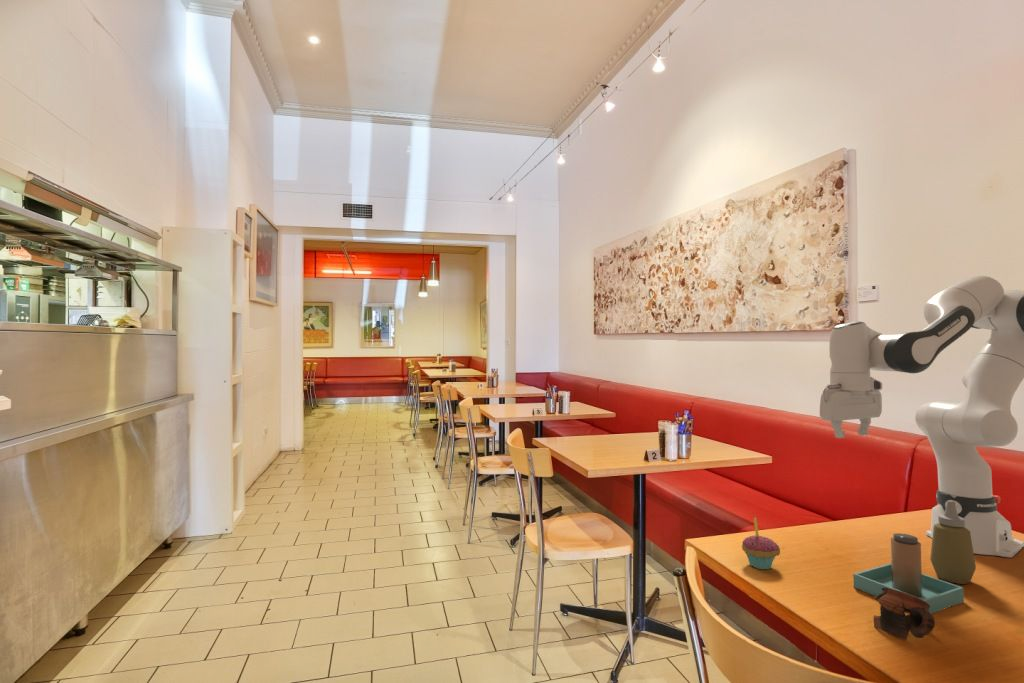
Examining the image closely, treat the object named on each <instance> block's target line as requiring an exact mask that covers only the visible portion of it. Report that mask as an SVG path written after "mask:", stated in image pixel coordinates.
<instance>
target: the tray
mask: <svg viewBox="0 0 1024 683" xmlns="http://www.w3.org/2000/svg"><path fill="white" fill-rule="evenodd" d="M852 576H853V588H855V589H857V590H859V591H861V592H865V593H867V594H870V595H872V596H875V597H876V596H877V595H879V594H881V593H883V590H882V588H890V589H894V588H892V567H891V563H887V564H883V565H880V566H877V567H876V566H875V567H872V568H869V569H866V570H865V569H864V570H862V571H858V572H855V573H853V575H852ZM894 590H897V589H894ZM898 591H900V590H898ZM901 592H902V591H901ZM904 593H905V592H904ZM907 594H908V593H907ZM912 596H913V595H912ZM964 597H965V596H964V586H963V587H962V586H960V585H956V584H954V583H952V582H949V581H946V580H943V579H939V578H936V577H933V576H930V575H927V574H924V573H922V597H920V598H919V599H921V600H923V601H925V602H926V603H928V604H929V605H930V608H929V612H930V614H931V615H932V613H933V614H935V613H938V612H941V611H943V610H942V609H944V608H946V609H948V608H947V607H949V606H952V605H954V606H957V605H959V604H958V603H960V604H962V603H961V602H963V603H964V602H965V600H964ZM880 598H881V597H880ZM917 598H918V597H917ZM956 604H957V605H956ZM952 607H953V606H952ZM949 608H950V607H949ZM940 610H941V611H940ZM944 610H945V609H944ZM937 611H938V612H937ZM934 612H935V613H934Z"/></svg>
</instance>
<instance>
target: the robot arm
mask: <svg viewBox="0 0 1024 683" xmlns="http://www.w3.org/2000/svg"><path fill="white" fill-rule="evenodd" d="M923 316H924V319H925V320H926V322H927V323H928V325H927V326H925V327H924V328H923V329H922V330H919V331H911V332H901V333H889V334H887V333H885V334H883V333H881V332H878V331H876V330H874V329H872V328H870V327H869V326H868V325H867V324H866V322H863V321H852V322H845V323H838V324H837V325H835V326H833V327H832V329H831V331H830V336H829V344H828V345H829V359H830V362H831V365H830V370H829V382H830V383H829V384H827V385H826V386H825V387H824V388H823V389H822V393H821V395H820V400H819V401H820V402H819V418H821V420H822V421H828V422H829V421H830V425H831V427H832V429H833V431H834V432H833V434H834V437H835V438H837V439H842V438H843V439H844V438H845V437H846V431H845V430H843V427H842V425H843V421H848V420H850V421H851V420H859V424H860V425H859V427H857V434H858V436H868V434H869V428H870V425H871V423H872V419H873V418H880V416H881V414H882V412H883V398H882V397H883V396H882V392H881V391H882V390H883V383H882V382H881V381H880V380H878V379H876V378H874V377H872V376H871V371H880V372H883V371H884V372H900V373H907V374H918V373H921V372H924V371H926V370H927V369H928V368H929V367H931V365H932V364H933V362H934V361H935V360H936V358H937V357H938V355H940V353H941V352H942V351H943V350H944V349H946V348H947V347H949V346H950V345H951V344H953V343H954V342H955V341H957V340H958V339H959V338H960V337H962V336H963V335H964V334H966V333H967V332H968V331H969V330H970V329H971V328H972V329H983V330H989V331H990V330H991V332H990V338H989V339H988V340H987V341H986V343H984V344H983V346H982V347H981V348H980V349H979V351H978V352H977V354H976V356H974V358H973V360H972V362H971V363H970V364H969V366H968V368H967V369H966V370H965V372H964V373H963V374H962V378H961V380H962V384H963V386H964V387H965V388H966V389H967V390H966V395H965V397H964V399H963V400H962V401H961V402H958V401H949V400H935V401H930V402H925V403H923V404H922V405H921V406H919V407H918V409H916V412H915V418H914V419H915V423H916V425H917V427H918V428H919V430H921V431H922V432H923V434H925V436H926V438H927V439H928V442H929V443H930V446H931V448H932V451H933V453H934V456H935V460H936V467H937V482H938V483H937V484H938V489H936V494H935V496H936V502H937V504H936V505H935V506H934V507H932V510H931V521H930V522H931V524H930V530H926V532H925V535H926V536H928V537H930V538H931V539H932V538H933V527H934V525H935V524H937V523H939V521H938V516H939V515H940V514H944V513H945V509H946V505H947V501H953V502H954V503H955V507H956V510H957V513H958V516H959V517H962V518H963V519H964V520H965V526H964V527H965V528H967V529H968V530H969V531H970V534H971V540H972V546H973V552H974V555H975V554H976V555H986V556H997V557H998V556H999V557H1003V558H1013V557H1014V556H1015V555H1016V554H1018V552H1019V551H1021V549H1023V548H1024V541H1022V540H1019V539H1017V538H1014V537H1013V535H1012V534H1013V533H1012V532H1013V531H1012V524H1011V523H1010V521H1009V520H1007V519H1006V518H1005V517H1004V516H1003V515H1002V514H1001V513H1000V512H999V511H997V510H998V506H997V504H1000V503H1001V500H1002V499H1001V496H1000V495H994V494H993V479H992V478H993V475H992V473H993V472H992V468H991V466H990V465H989V463H988V462H987V461H986V460H984V459H983V458H982V456H981V455H980V453H979V451H978V449H977V447H981V448H982V447H985V448H987V447H988V448H990V447H994V448H995V447H1004V446H1007V445H1009V444H1011V443H1012V442H1013V441H1014V440H1015V438H1016V437H1017V434H1018V432H1019V428H1018V427H1019V426H1018V423H1017V420H1016V419H1015V417H1014V415H1012V411H1011V406H1012V399H1013V397H1014V395H1015V393H1016V392H1017V390H1018V388H1019V386H1020V385H1021V383H1022V382H1023V380H1024V290H1022V289H1021V290H1017V289H1005V290H1004V287H1003V286H1002V284H1001V283H1000V282H999V280H996V278H993V277H990V276H987V275H977V276H972V277H969V278H966V279H963V280H961V281H958V282H956V283H954V284H952V285H950V286H948V287H947V288H945V289H943V290H941V291H939V292H938V293H936V294H935V295H933V296H932V297H931V298H929V299H928V300H927V301H926V303H925V304H924V306H923ZM976 446H977V447H976ZM1022 547H1023V548H1022Z"/></svg>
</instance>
